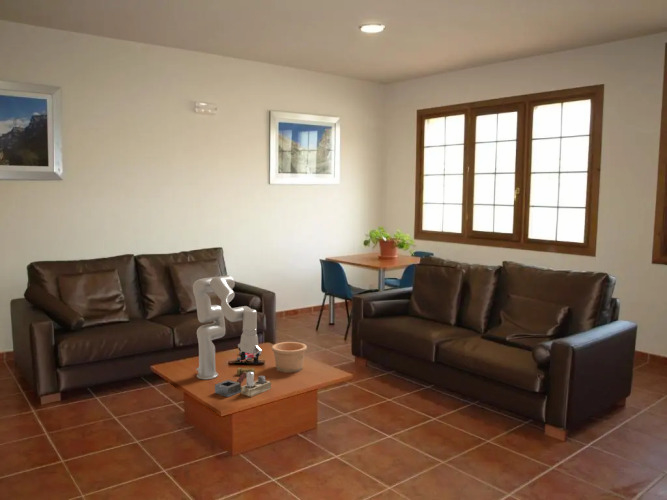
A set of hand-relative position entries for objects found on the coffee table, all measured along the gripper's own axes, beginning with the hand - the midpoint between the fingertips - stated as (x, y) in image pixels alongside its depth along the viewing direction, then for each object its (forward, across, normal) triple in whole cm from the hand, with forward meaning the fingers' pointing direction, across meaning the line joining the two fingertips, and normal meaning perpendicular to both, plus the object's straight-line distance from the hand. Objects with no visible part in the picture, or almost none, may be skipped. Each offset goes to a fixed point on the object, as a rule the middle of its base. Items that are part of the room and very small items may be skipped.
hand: (249, 361), depth 317 cm
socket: (+18, -10, -7) cm, 22 cm away
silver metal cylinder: (+18, +1, 0) cm, 18 cm away
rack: (+18, +1, +4) cm, 18 cm away
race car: (+20, -46, +45) cm, 68 cm away
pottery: (+19, -10, +46) cm, 51 cm away
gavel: (+19, -19, +14) cm, 31 cm away
